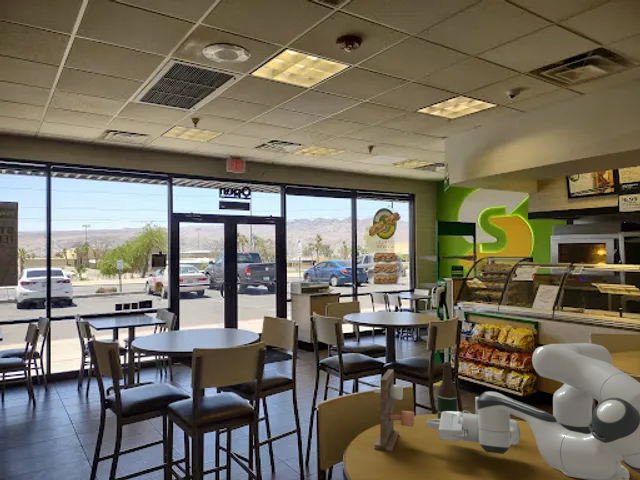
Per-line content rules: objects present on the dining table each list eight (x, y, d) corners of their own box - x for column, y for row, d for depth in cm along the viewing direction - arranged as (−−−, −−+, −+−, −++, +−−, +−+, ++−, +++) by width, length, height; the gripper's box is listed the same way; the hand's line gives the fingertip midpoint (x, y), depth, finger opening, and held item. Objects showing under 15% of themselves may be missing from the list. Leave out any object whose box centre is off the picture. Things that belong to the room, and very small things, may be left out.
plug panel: (398, 434, 179) (399, 369, 180) (391, 451, 164) (392, 380, 165) (382, 432, 181) (383, 368, 182) (374, 448, 166) (374, 378, 167)
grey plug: (402, 397, 174) (402, 383, 174) (400, 401, 169) (400, 387, 169) (375, 394, 177) (375, 381, 177) (372, 398, 172) (373, 384, 172)
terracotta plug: (414, 423, 172) (414, 409, 172) (412, 428, 168) (412, 414, 168) (386, 420, 175) (386, 406, 176) (384, 425, 171) (384, 411, 171)
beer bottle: (433, 423, 192) (433, 362, 193) (443, 418, 198) (443, 359, 198) (451, 428, 187) (451, 366, 187) (460, 423, 192) (460, 362, 193)
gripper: (468, 448, 153) (423, 442, 157) (467, 427, 173) (428, 423, 177) (467, 427, 154) (423, 423, 158) (467, 409, 173) (428, 405, 177)
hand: (426, 423), depth 167 cm, fingers closed
